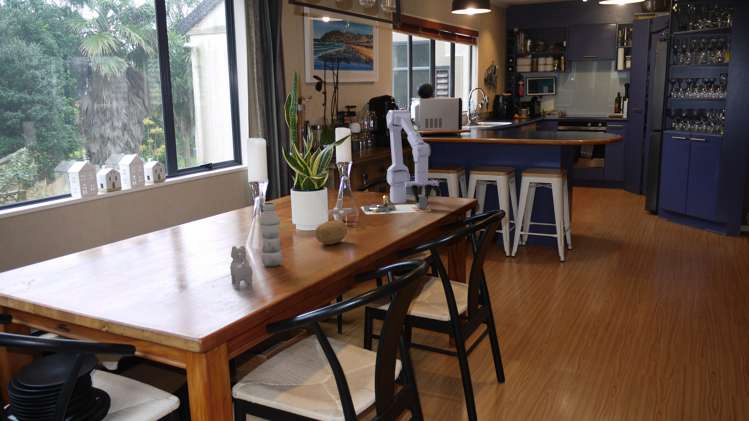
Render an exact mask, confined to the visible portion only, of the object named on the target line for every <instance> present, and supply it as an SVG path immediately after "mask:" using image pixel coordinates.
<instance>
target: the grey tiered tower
mask: <svg viewBox="0 0 749 421" xmlns="http://www.w3.org/2000/svg"><path fill="white" fill-rule="evenodd" d="M275 210H276V204H275V202H264V203H263V204H262V211H263V212H262V213H261V215H260V217H259V219H258V223H259V227H260V234H261V240H262V241H261V244H262V247H261V256H260V257H261V262H262V264H263V265H264V266H266V267H276V266H279V265H281V263H282V262H283V253H282V251H281V243H280V227H281V219H280V216H279V215H278V213H277V211H275Z"/></svg>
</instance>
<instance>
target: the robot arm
mask: <svg viewBox="0 0 749 421" xmlns="http://www.w3.org/2000/svg"><path fill="white" fill-rule="evenodd" d="M411 119H412V114H411V112H410V110H409V109H407V108H406V109H393V110H392V109H390V110H388V111H387V114H386V125H387V126H386V127H387V129H389V137H390V149H391V161H392V162H391V165H390V166H389V167H388V169H386V171H387V173H386V182H387V183H388V184H389V185H390V189H389V200H390V202H391V203H393V204H403V203H406V202H407V188H409V187H410V188H411V190H412V194H413V195H414V199H415V204H416V203H418V195H419V187H423V188H424V195H425V196H427V202H428V199H429V197H430V193H431V192H432V191H433V190H432V189H433V186H436V187H437V186H439V181H438V180H429V157H430V156H431V152H432V151H431V146H430V144H429V143H427V142H424V140H423V138H422V136H421V134H420V133H419V131H416V129H415V128H414V126H413V123H412V120H411ZM402 129H403V130H404V131H405V133H406V134H407V141H408V143H409V145H410V147H411V148H412V151H411V152H412V156H413V157H412V158H413V162H414V180H412V181H410V180H411V175H410V172H409V168H408V166H406V165H405V164H404V158H403V146H402V145H403V144H402V134H401V133H402Z"/></svg>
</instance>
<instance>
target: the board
mask: <svg viewBox="0 0 749 421" xmlns="http://www.w3.org/2000/svg"><path fill="white" fill-rule="evenodd" d="M389 205H390V204H389ZM391 205H392V204H391ZM391 205H390V206H391ZM394 205H395V208H396V211H389V213H385V212H377V213H373V212H371V211H367V212H365V211H364V206H360V209H361V210H362V211H363V213H364V214H365V215H383V214H387V215H388V214H401V213H403V214H406V213H425V212H426V213H427V212H432V209H431V208H430V207H429V206H427V208H418V207H417V206H416V203H415V204H414V203H413V204H394Z"/></svg>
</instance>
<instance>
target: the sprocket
mask: <svg viewBox="0 0 749 421" xmlns="http://www.w3.org/2000/svg"><path fill="white" fill-rule="evenodd" d="M382 197H383V198H382V199H383V203H382V204H375V203H374V204H373V203H372V204H370V205H363V207H364V211H365V212H367V211H371V212H373V213H377V212H385V213H387V214H390V213H389V211H396V208H395V205H396V204H393V205H392V204H391V206H390V204H389V195H383V196H382ZM364 211H363V212H364ZM365 212H364V213H365Z"/></svg>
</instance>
